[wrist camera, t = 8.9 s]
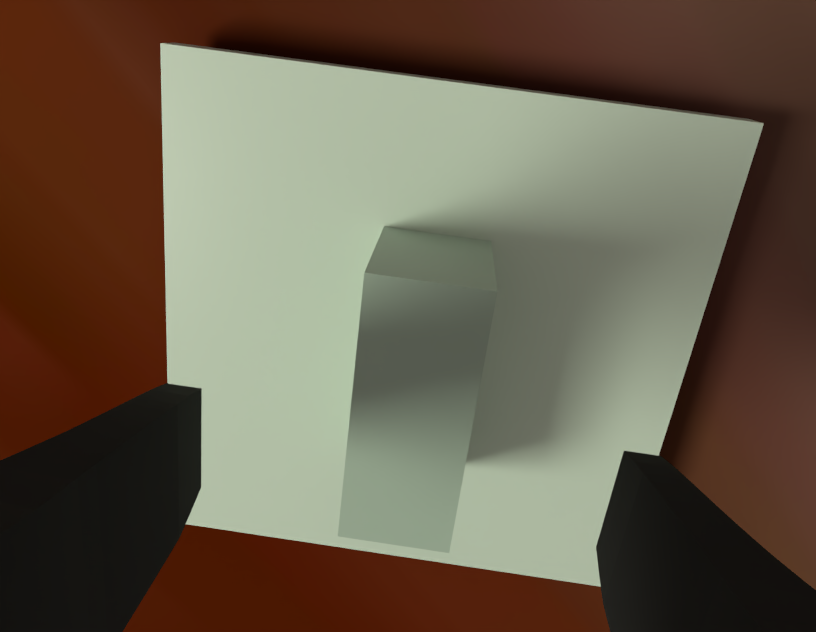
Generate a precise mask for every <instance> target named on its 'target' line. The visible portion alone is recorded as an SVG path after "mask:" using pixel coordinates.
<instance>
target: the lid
mask: <svg viewBox="0 0 816 632" xmlns="http://www.w3.org/2000/svg"><path fill="white" fill-rule="evenodd" d="M160 45H161V93H162V140H163V188H164V235H165V282H166V330H167V377H168V384H175V385H181V386H188V387H195V388H202V406H201V489H200V491H199V494H198V496H197V499H196V501H195V503H194V506H193V508H192V510H191V513H190V515H189V517H188V520H187V522H186V524H189V525H196V526H203V527H209V528H216V529H223V530H229V531H236V532H242V533H249V534H256V535H262V536H269V537H276V538H282V539H289V540H295V541H302V542H309V543H315V544H322V545H329V546H335V547H342V548H349V549H355V550H362V551H368V552H375V553H382V554H388V555H395V556H402V557H408V558H415V559H421V560H428V561H435V562H441V563H448V564H455V565H461V566H468V567H474V568H481V569H488V570H494V571H501V572H508V573H514V574H521V575H528V576H534V577H541V578H547V579H554V580H561V581H567V582H574V583H581V584H587V585H594V586H600V587H601V584H600V577H599V568H598V560H597V551H596V545H597V542H598V539H599V535H600V532H601V528H602V525H603V521H604V518H605V514H606V511H607V507H608V504H609V500H610V497H611V494H612V490H613V487H614V483H615V480H616V476H617V473H618V469H619V466H620V462H621V459H622V455H623V452H624V451H630V452H637V453H644V454H651V455H657V456H659V453H660V450H661V447H662V444H663V440H664V437H665V434H666V431H667V428H668V425H669V422H670V418H671V415H672V412H673V409H674V406H675V403H676V399H677V396H678V393H679V390H680V387H681V384H682V381H683V377H684V374H685V371H686V368H687V365H688V362H689V358H690V355H691V352H692V349H693V346H694V343H695V339H696V336H697V333H698V330H699V327H700V324H701V321H702V317H703V314H704V311H705V308H706V305H707V302H708V298H709V295H710V292H711V289H712V286H713V283H714V280H715V276H716V273H717V270H718V267H719V264H720V261H721V257H722V254H723V251H724V248H725V245H726V242H727V239H728V235H729V232H730V229H731V226H732V223H733V220H734V216H735V213H736V210H737V207H738V204H739V201H740V198H741V194H742V191H743V188H744V185H745V182H746V179H747V175H748V172H749V169H750V166H751V163H752V160H753V157H754V153H755V150H756V147H757V144H758V141H759V138H760V134H761V131H762V128H763V125H764V123H761V122H758V121H754V120H751V119H746V118H739V117H731V116H723V115H716V114H708V113H701V112H693V111H686V110H678V109H671V108H663V107H656V106H648V105H641V104H633V103H626V102H618V101H611V100H603V99H596V98H588V97H580V96H573V95H565V94H558V93H550V92H543V91H535V90H528V89H520V88H513V87H505V86H498V85H490V84H483V83H475V82H468V81H460V80H453V79H445V78H437V77H430V76H422V75H415V74H407V73H400V72H392V71H385V70H377V69H370V68H362V67H355V66H347V65H340V64H332V63H325V62H317V61H309V60H302V59H294V58H287V57H279V56H272V55H264V54H257V53H249V52H242V51H234V50H227V49H219V48H212V47H204V46H197V45H189V44H182V43H160Z"/></svg>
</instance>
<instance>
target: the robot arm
mask: <svg viewBox="0 0 816 632" xmlns="http://www.w3.org/2000/svg"><path fill="white" fill-rule="evenodd" d="M201 406H202V388H195V387H188V386H181V385H175V384H168V383H166V384H164V385H161V386H159V387H156V388H154V389H152V390H150V391H148V392H145V393H143V394H141V395H139V396H137V397H135V398H133V399H131V400H129V401H127V402H125V403H123V404H121V405H119V406H117V407H115V408H113V409H111V410H109V411H107V412H105V413H103V414H101V415H99V416H97V417H95V418H93V419H91V420H89V421H87V422H85V423H83V424H81V425H79V426H77V427H75V428H73V429H71V430H68V431H66V432H64V433H62V434H60V435H57V436H55V437H53V438H51V439H48V440H46V441H44V442H42V443H39V444H37V445H35V446H33V447H30V448H28V449H26V450H24V451H21V452H19V453H17V454H15V455H12V456H10V457H8V458H5V459H3V460H0V632H122V631H123V630H124V628H125V627H126V625H127V623H128V622H129V620H130V618H131V617H132V615H133V614H134V612H135V610H136V609H137V607H138V605H139V604H140V602H141V600H142V599H143V597H144V596H145V594H146V592H147V591H148V589H149V587H150V586H151V584H152V583H153V581H154V579H155V578H156V576H157V574H158V573H159V571H160V569H161V568H162V566H163V564H164V563H165V561H166V559H167V558H168V556H169V554H170V553H171V551H172V549H173V548H174V546H175V544H176V543H177V541H178V539H179V537H180V535H181V533H182V531H183V528H184V526H185V524H186V522H187V520H188V517H189V515H190V513H191V510H192V508H193V506H194V503H195V501H196V499H197V496H198V494H199V491H200V489H201ZM596 551H597V560H598V568H599V577H600V584H601V591H602V598H603V604H604V608H605V612H606V616H607V620H608V624H609V628H610V631H611V632H816V590H815V589H813V588H812V587H811V586H809V585H808V584H807V583H806V582H804V581H803V580H802V579H801V578H799V577H798V576H797V575H796V574H795V573H793V572H792V571H791V570H790V569H788V568H787V567H786V566H785V565H784V564H782V563H781V562H780V561H779V560H777V559H776V558H775V557H774V556H773V555H771V554H770V553H769V552H768V551H767V550H766V549H764V548H763V547H762V546H761V545H760V544H759V543H757V542H756V541H755V540H754V539H753V538H752V537H751V536H749V535H748V534H747V533H746V532H745V531H744V530H743V529H742V528H740V527H739V526H738V525H737V524H736V523H735V522H734V521H733V520H732V519H730V518H729V517H728V516H727V515H726V514H725V513H724V512H723V511H722V510H721V509H719V508H718V507H717V506H716V505H715V504H714V503H713V502H712V501H711V500H710V499H709V498H708V497H706V496H705V495H704V494H703V493H702V492H701V491H700V490H699V489H698V488H697V487H696V486H695V485H694V484H692V483H691V482H690V481H689V480H688V479H687V478H686V477H685V476H684V475H683V474H681V473H680V472H679V471H678V470H677V469H676V468H675V467H674V466H672V465H671V464H670V463H669V462H668V461H666V460H665V459H664V458H663V457H661V456H657V455H651V454H644V453H637V452H630V451H624V452H623V455H622V459H621V462H620V466H619V469H618V473H617V476H616V480H615V483H614V487H613V490H612V494H611V497H610V500H609V504H608V507H607V511H606V514H605V518H604V521H603V525H602V528H601V532H600V535H599V539H598V542H597V545H596Z"/></svg>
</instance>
